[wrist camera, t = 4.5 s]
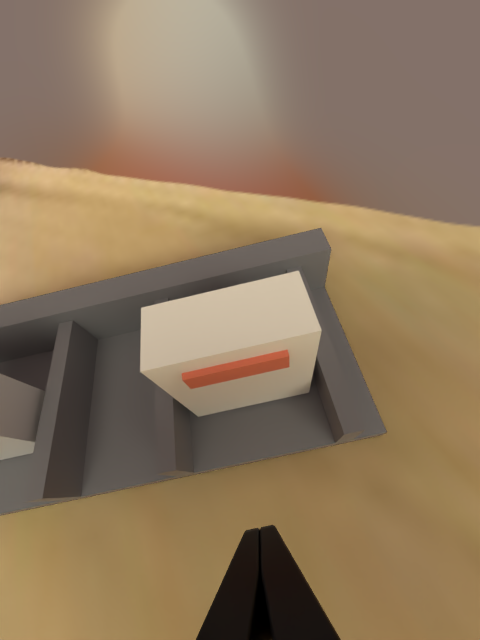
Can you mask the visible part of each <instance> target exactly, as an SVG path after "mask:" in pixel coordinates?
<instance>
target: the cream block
mask: <svg viewBox="0 0 480 640" xmlns="http://www.w3.org/2000/svg"><path fill="white" fill-rule="evenodd" d="M321 331H322V330H321V327H320V325H319V322H318V319H317V317H316V314H315V312H314V309H313V306H312V304H311V301H310V298H309V296H308V293H307V291H306V288H305V285H304V283H303V280H302V278H301V275H300V272H299V271H294V272H290V273H286V274H282V275H278V276H273V277H269V278H265V279H261V280H256V281H252V282H248V283H244V284H239V285H235V286H231V287H227V288H222V289H218V290H214V291H210V292H206V293H201V294H197V295H193V296H189V297H184V298H180V299H176V300H172V301H167V302H163V303H159V304H155V305H151V306H146V307H142V308H141V347H140V372H141V373H142V374H144V375H145V376H146V377H148V378H149V379H150V380H152V381H153V382H154V383H155V384H157V385H158V386H159V387H161V388H162V389H163V390H164V391H166V392H167V393H168V394H170V395H171V396H172V397H173V398H175V399H176V400H177V401H179V402H180V403H181V404H183V405H184V406H185V407H186V408H188V409H189V410H190V411H192V412H193V413H194V414H195V415H197V416H198V417H200V416H204V415H209V414H213V413H218V412H222V411H227V410H232V409H236V408H241V407H245V406H250V405H254V404H259V403H264V402H268V401H273V400H277V399H282V398H286V397H291V396H296V395H300V394H305V393H309V390H310V385H311V381H312V376H313V371H314V366H315V361H316V356H317V351H318V346H319V341H320V336H321Z"/></svg>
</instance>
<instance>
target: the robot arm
mask: <svg viewBox="0 0 480 640" xmlns="http://www.w3.org/2000/svg"><path fill="white" fill-rule="evenodd" d="M196 640H341V639H340V638H339V636H338V634H337V633H336V631H335V629H334V627H333V626H332V624H331V622H330V620H329V619H328V617H327V615H326V614H325V612H324V610H323V608H322V607H321V605H320V603H319V601H318V600H317V598H316V596H315V595H314V593H313V591H312V589H311V588H310V586H309V584H308V582H307V581H306V579H305V577H304V576H303V574H302V572H301V570H300V569H299V567H298V565H297V563H296V562H295V560H294V558H293V557H292V555H291V553H290V551H289V550H288V548H287V546H286V544H285V543H284V541H283V539H282V538H281V536H280V534H279V532H278V531H277V529H276V527H275V526H274V525H270V526H265V527H261V529H258V528H255V529H250V530H246V531H245V532H244V534H243V537H242V539H241V541H240V543H239V545H238V548H237V550H236V552H235V554H234V557H233V559H232V561H231V563H230V565H229V568H228V570H227V572H226V574H225V576H224V579H223V581H222V583H221V585H220V587H219V590H218V592H217V594H216V596H215V599H214V601H213V603H212V605H211V607H210V610H209V612H208V614H207V616H206V618H205V621H204V623H203V625H202V627H201V629H200V632H199V634H198V636H197V638H196Z"/></svg>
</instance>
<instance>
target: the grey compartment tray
mask: <svg viewBox="0 0 480 640" xmlns="http://www.w3.org/2000/svg"><path fill="white" fill-rule="evenodd" d="M330 253H331V247H330V245H329V243H328V241H327V239H326V237H325V235H324V233H323V231H322V229H321V228H318V229H314V230H310V231H306V232H302V233H298V234H293V235H289V236H285V237H281V238H277V239H273V240H269V241H264V242H260V243H256V244H252V245H248V246H244V247H240V248H235V249H231V250H227V251H223V252H219V253H215V254H211V255H206V256H202V257H198V258H194V259H190V260H186V261H182V262H177V263H173V264H169V265H165V266H161V267H157V268H153V269H148V270H144V271H140V272H136V273H132V274H128V275H124V276H119V277H115V278H111V279H107V280H103V281H99V282H95V283H90V284H86V285H82V286H78V287H74V288H70V289H66V290H61V291H57V292H53V293H49V294H45V295H41V296H37V297H32V298H28V299H24V300H20V301H16V302H12V303H8V304H3V305H0V374H3V375H5V376H8V377H10V378H13V379H15V380H18V381H20V382H23V383H25V384H28V385H31V386H33V387H36V388H38V389H41V390H43V391H45V396H44V401H43V406H42V411H41V416H40V421H39V426H38V431H37V436H36V441H35V446H34V451H33V453H31V454H26V455H21V456H17V457H12V458H8V459H3V460H0V515H5V514H10V513H15V512H19V511H24V510H29V509H34V508H38V507H43V506H48V505H53V504H57V503H62V502H67V501H72V500H76V499H81V498H86V497H90V496H95V495H100V494H105V493H109V492H114V491H119V490H124V489H128V488H133V487H138V486H143V485H147V484H152V483H157V482H162V481H166V480H171V479H176V478H181V477H185V476H190V475H195V474H200V473H204V472H209V471H214V470H218V469H223V468H228V467H233V466H237V465H242V464H247V463H252V462H256V461H261V460H266V459H271V458H275V457H280V456H285V455H290V454H294V453H299V452H304V451H309V450H313V449H318V448H323V447H328V446H332V445H337V444H342V443H347V442H351V441H356V440H361V439H365V438H370V437H375V436H380V435H383V434H385V433H386V432H387V431H386V429H385V427H384V424H383V422H382V420H381V417H380V415H379V413H378V410H377V408H376V406H375V403H374V401H373V399H372V396H371V394H370V392H369V389H368V387H367V385H366V382H365V380H364V378H363V375H362V373H361V371H360V368H359V366H358V364H357V361H356V359H355V357H354V354H353V352H352V350H351V347H350V345H349V343H348V340H347V338H346V336H345V333H344V331H343V329H342V326H341V324H340V322H339V319H338V317H337V315H336V312H335V310H334V308H333V305H332V303H331V301H330V298H329V296H328V294H327V291H326V289H325V282H326V276H327V270H328V264H329V259H330ZM294 271H299V272H300V275H301V278H302V280H303V283H304V285H305V288H306V291H307V293H308V296H309V298H310V301H311V304H312V306H313V309H314V312H315V314H316V317H317V319H318V322H319V325H320V327H321V330H322V331H321V336H320V341H319V346H318V351H317V356H316V361H315V366H314V371H313V376H312V381H311V385H310V390H309V393H305V394H300V395H296V396H291V397H286V398H282V399H277V400H273V401H268V402H264V403H259V404H254V405H250V406H245V407H241V408H236V409H232V410H227V411H222V412H218V413H213V414H209V415H204V416H200V417H198V416H197V415H195V414H194V413H193V412H192V411H190V410H189V409H188V408H186V407H185V406H184V405H183V404H181V403H180V402H179V401H177V400H176V399H175V398H173V397H172V396H171V395H170V394H168V393H167V392H166V391H164V390H163V389H162V388H161V387H159V386H158V385H157V384H155V383H154V382H153V381H152V380H150V379H149V378H148V377H146V376H145V375H144V374H142V373H141V372H140V347H141V308H142V307H146V306H151V305H155V304H159V303H163V302H167V301H172V300H176V299H180V298H184V297H189V296H193V295H197V294H201V293H206V292H210V291H214V290H218V289H222V288H227V287H231V286H235V285H239V284H244V283H248V282H252V281H256V280H261V279H265V278H269V277H273V276H278V275H282V274H286V273H290V272H294Z"/></svg>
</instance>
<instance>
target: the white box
mask: <svg viewBox="0 0 480 640" xmlns="http://www.w3.org/2000/svg"><path fill="white" fill-rule="evenodd" d="M44 396H45V391H43V390H41V389H38V388H36V387H33V386H31V385H28V384H25V383H23V382H20V381H18V380H15V379H13V378H10V377H8V376H5V375H3V374H0V460H3V459H8V458H12V457H17V456H21V455H26V454H31V453H33V451H34V446H35V441H36V436H37V431H38V426H39V421H40V416H41V411H42V406H43V401H44Z"/></svg>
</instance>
